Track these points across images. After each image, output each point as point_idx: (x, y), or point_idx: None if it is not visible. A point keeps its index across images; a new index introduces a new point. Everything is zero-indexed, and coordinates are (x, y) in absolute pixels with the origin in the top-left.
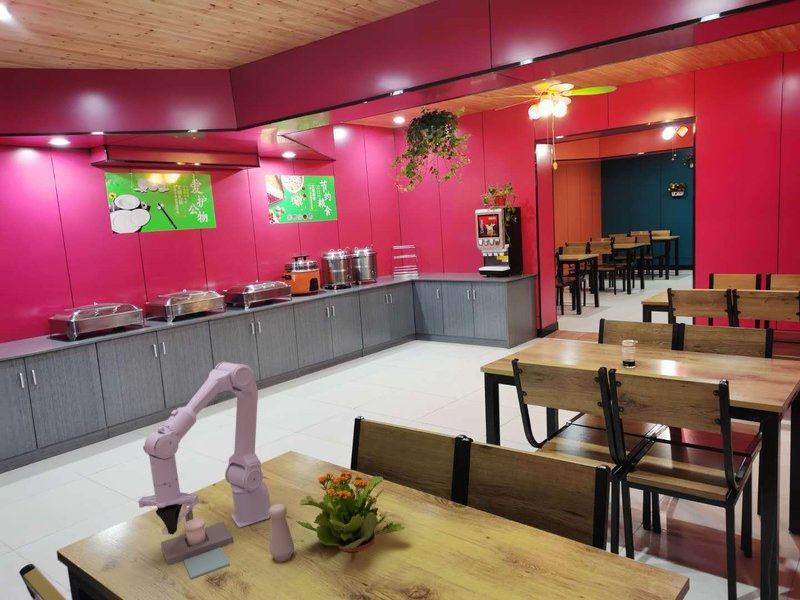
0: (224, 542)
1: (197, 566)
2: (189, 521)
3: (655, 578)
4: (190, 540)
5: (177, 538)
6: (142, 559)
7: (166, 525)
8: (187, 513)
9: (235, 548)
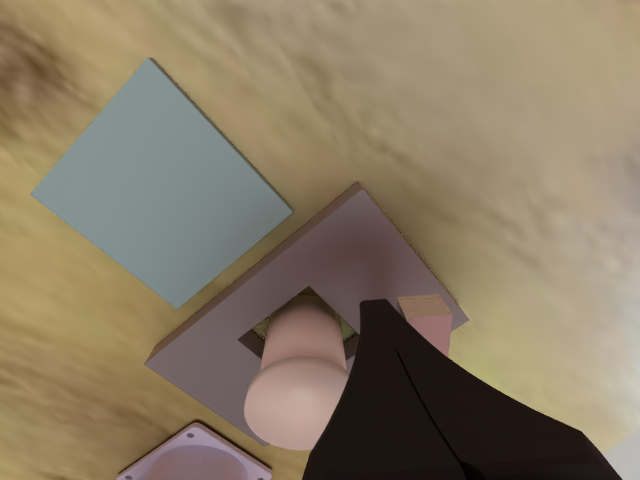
0: (173, 335)
1: (183, 163)
2: None
3: None
4: (310, 322)
5: None
6: (508, 220)
7: (414, 336)
8: None
9: (115, 310)
